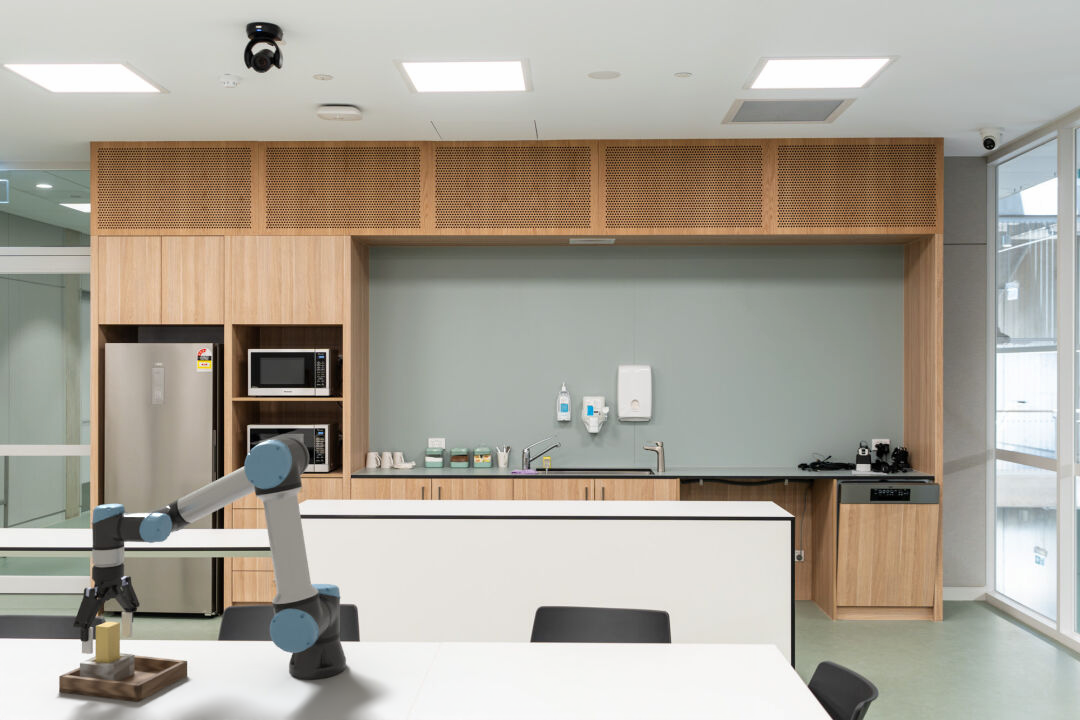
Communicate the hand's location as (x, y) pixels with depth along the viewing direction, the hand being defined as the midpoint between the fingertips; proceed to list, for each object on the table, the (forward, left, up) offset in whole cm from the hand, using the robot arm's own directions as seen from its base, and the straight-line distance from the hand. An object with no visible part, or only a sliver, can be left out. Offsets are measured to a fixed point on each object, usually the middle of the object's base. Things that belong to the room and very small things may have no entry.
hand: (107, 644), depth 218 cm
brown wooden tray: (-6, 0, -10) cm, 11 cm away
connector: (0, 0, -9) cm, 9 cm away
